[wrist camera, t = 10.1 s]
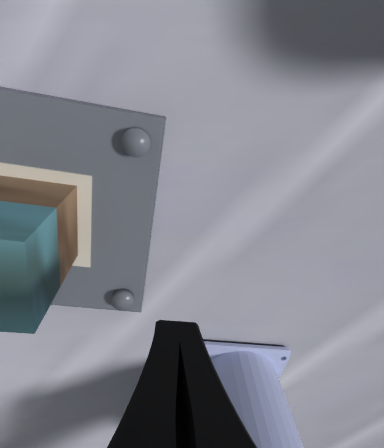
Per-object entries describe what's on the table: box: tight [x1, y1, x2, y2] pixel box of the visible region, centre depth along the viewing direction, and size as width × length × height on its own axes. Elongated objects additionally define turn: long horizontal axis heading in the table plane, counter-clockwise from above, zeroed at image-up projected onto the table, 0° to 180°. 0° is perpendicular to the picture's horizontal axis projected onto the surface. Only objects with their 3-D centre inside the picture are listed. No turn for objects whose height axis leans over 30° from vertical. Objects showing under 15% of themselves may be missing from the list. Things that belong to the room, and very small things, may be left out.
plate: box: [0, 87, 166, 312], centre depth 16 cm, size 13×13×2 cm
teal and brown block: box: [0, 175, 78, 334], centre depth 13 cm, size 4×4×6 cm
